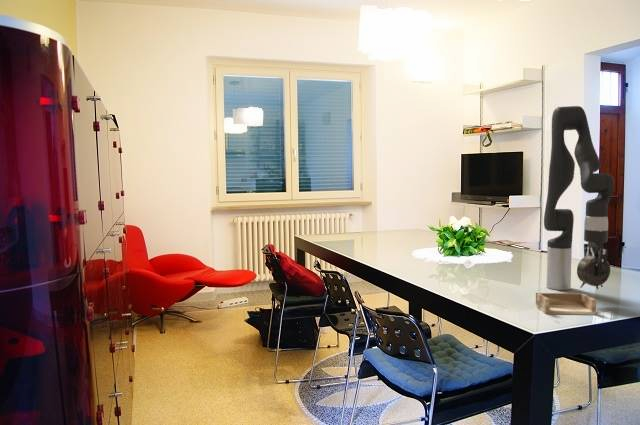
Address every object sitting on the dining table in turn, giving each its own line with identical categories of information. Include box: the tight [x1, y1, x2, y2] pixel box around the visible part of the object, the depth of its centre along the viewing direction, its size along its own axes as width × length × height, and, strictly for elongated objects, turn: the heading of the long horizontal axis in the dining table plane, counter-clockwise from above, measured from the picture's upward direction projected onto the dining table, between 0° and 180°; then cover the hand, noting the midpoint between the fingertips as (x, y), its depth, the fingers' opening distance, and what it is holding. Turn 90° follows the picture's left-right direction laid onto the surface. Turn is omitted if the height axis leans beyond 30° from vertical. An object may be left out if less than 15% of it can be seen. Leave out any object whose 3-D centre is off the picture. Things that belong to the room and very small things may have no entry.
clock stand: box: [535, 292, 597, 316], centre depth 176 cm, size 10×16×5 cm, turn 85°
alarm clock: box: [576, 246, 611, 290], centre depth 184 cm, size 11×5×16 cm, turn 100°
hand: (594, 274), depth 184 cm, fingers closed on alarm clock, 5 cm apart
